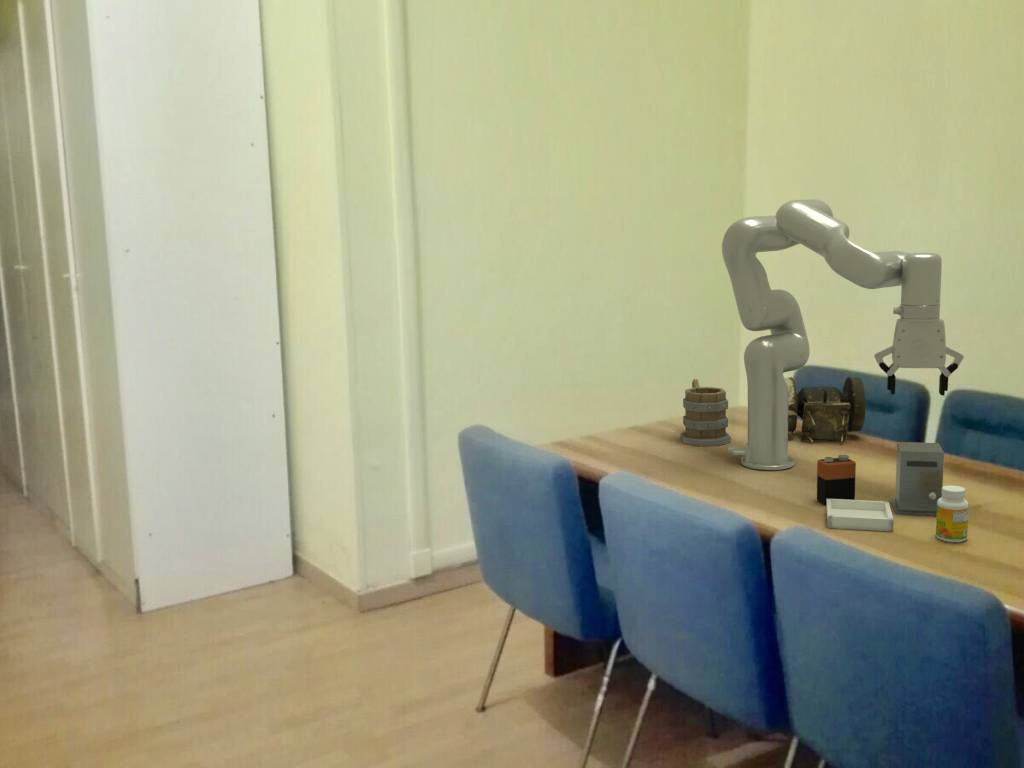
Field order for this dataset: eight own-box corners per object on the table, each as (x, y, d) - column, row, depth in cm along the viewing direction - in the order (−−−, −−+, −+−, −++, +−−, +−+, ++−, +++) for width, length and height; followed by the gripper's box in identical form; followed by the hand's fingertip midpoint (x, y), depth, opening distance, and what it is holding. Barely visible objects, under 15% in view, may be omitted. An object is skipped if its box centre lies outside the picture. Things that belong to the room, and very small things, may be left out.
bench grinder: (773, 415, 279) (775, 357, 267) (854, 411, 275) (860, 352, 264) (783, 462, 262) (785, 403, 251) (869, 458, 259) (875, 398, 247)
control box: (895, 514, 199) (897, 451, 197) (891, 500, 208) (893, 441, 205) (944, 516, 196) (947, 453, 194) (938, 503, 205) (941, 442, 203)
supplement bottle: (930, 534, 186) (932, 485, 185) (957, 532, 187) (959, 483, 185) (944, 544, 181) (947, 493, 179) (972, 542, 181) (975, 491, 180)
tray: (827, 528, 192) (827, 516, 192) (826, 509, 203) (826, 498, 203) (893, 531, 189) (893, 519, 188) (888, 512, 200) (888, 501, 199)
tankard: (733, 445, 260) (734, 390, 257) (685, 447, 260) (685, 391, 257) (718, 429, 279) (718, 377, 277) (674, 430, 279) (674, 378, 277)
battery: (855, 503, 207) (856, 457, 205) (825, 506, 206) (826, 460, 204) (845, 497, 211) (846, 452, 209) (815, 500, 210) (816, 455, 208)
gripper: (876, 315, 202) (874, 396, 205) (968, 314, 198) (964, 398, 201) (874, 311, 210) (872, 390, 213) (962, 310, 205) (958, 391, 208)
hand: (916, 393), depth 207 cm, fingers open, 9 cm apart
